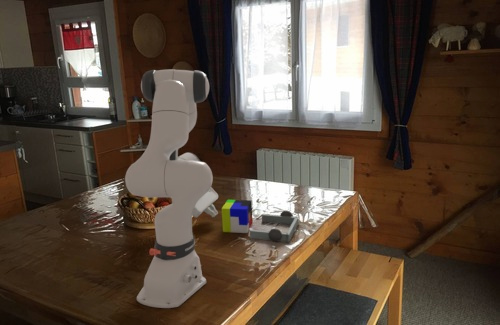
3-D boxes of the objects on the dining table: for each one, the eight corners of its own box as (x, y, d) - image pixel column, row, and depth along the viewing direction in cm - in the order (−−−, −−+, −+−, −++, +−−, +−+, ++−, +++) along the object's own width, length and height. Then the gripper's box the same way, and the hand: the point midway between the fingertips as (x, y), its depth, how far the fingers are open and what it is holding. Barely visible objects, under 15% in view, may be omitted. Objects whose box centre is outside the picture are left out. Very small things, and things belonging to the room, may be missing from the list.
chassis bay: (288, 243, 157) (288, 230, 156) (249, 239, 161) (248, 227, 160) (299, 222, 175) (298, 211, 173) (263, 219, 179) (263, 208, 178)
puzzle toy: (247, 233, 167) (246, 209, 165) (222, 232, 169) (221, 208, 167) (252, 223, 177) (251, 200, 174) (229, 222, 179) (227, 199, 176)
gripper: (185, 194, 164) (210, 220, 164) (206, 179, 183) (229, 202, 182) (176, 204, 167) (200, 229, 166) (198, 188, 185) (220, 210, 185)
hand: (215, 215), depth 175 cm, fingers closed
